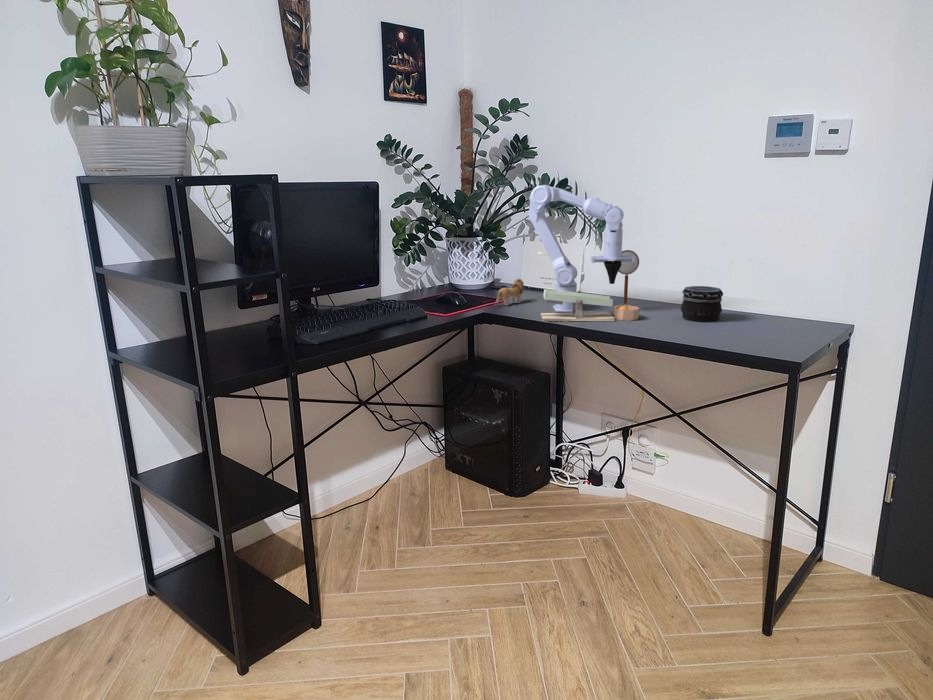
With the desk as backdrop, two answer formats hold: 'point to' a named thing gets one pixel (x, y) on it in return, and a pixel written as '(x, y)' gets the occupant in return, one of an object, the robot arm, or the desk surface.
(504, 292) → the lion figurine
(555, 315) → the stand
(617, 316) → the octagonal wooden bowl
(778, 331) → the desk surface
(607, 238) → the robot arm
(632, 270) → the magnifying glass
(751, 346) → the desk surface
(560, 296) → the trough
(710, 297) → the container
